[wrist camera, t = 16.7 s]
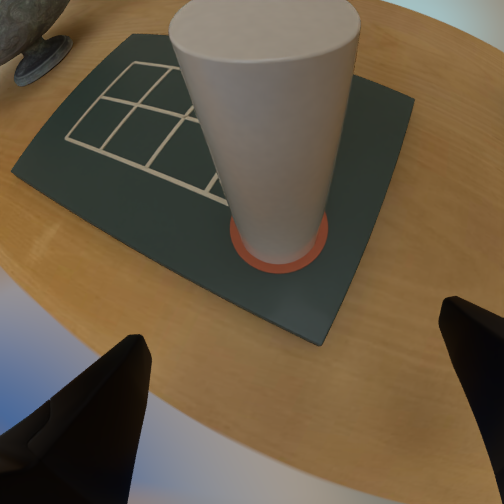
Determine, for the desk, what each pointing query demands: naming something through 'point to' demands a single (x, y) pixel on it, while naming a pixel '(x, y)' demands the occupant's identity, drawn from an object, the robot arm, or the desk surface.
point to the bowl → (31, 37)
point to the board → (208, 184)
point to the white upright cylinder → (270, 109)
